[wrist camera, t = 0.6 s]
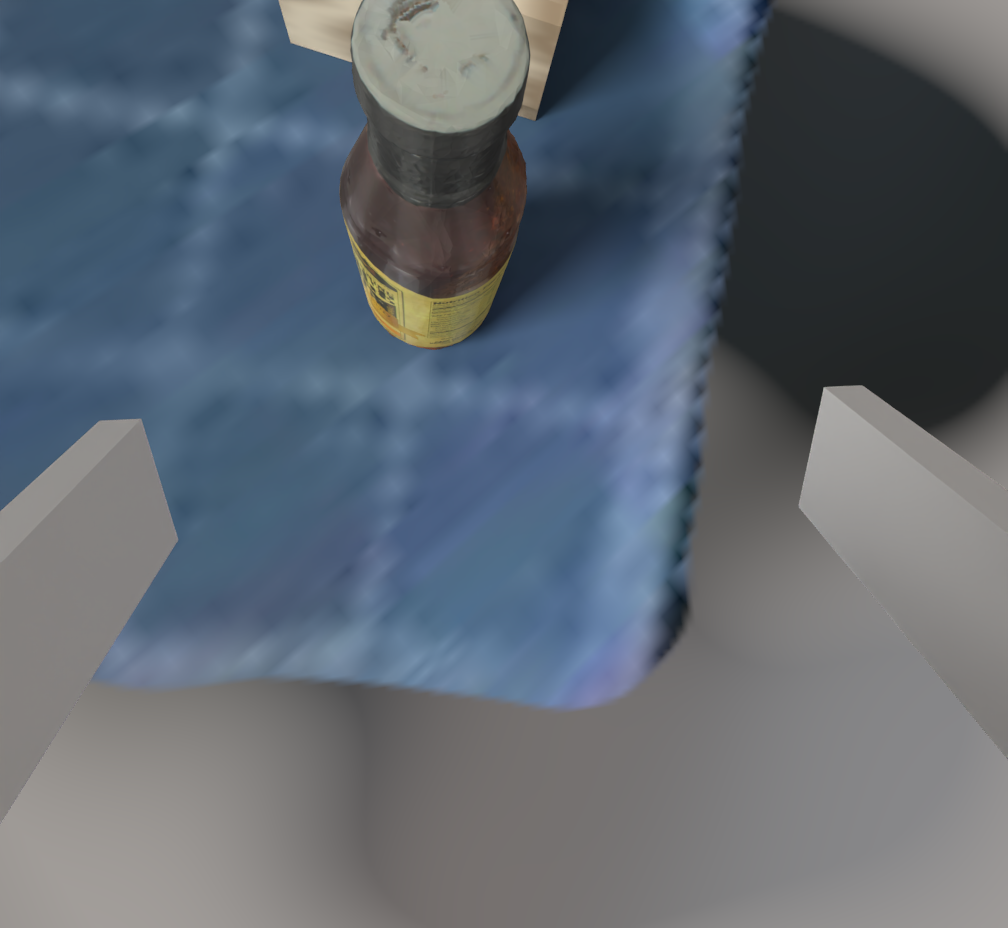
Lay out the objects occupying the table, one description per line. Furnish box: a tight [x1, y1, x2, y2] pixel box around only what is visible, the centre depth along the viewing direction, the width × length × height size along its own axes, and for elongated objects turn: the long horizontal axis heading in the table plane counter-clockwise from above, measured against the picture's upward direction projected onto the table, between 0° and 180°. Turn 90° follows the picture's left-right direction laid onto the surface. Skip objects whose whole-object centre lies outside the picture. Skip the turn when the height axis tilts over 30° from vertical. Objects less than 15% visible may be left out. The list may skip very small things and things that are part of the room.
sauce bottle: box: [340, 0, 530, 350], centre depth 25 cm, size 7×6×20 cm
